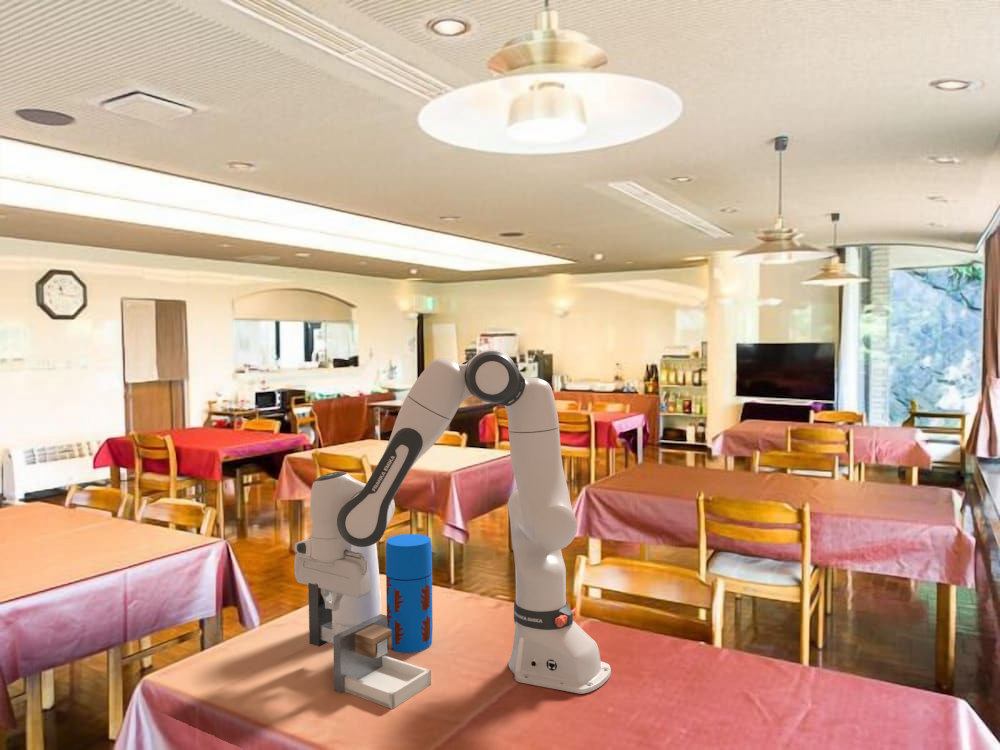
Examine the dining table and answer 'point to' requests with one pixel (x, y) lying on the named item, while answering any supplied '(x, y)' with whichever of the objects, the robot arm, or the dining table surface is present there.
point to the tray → (390, 683)
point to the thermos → (409, 592)
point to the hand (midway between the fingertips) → (332, 609)
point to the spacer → (372, 640)
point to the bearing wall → (354, 654)
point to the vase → (365, 606)
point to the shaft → (327, 622)
